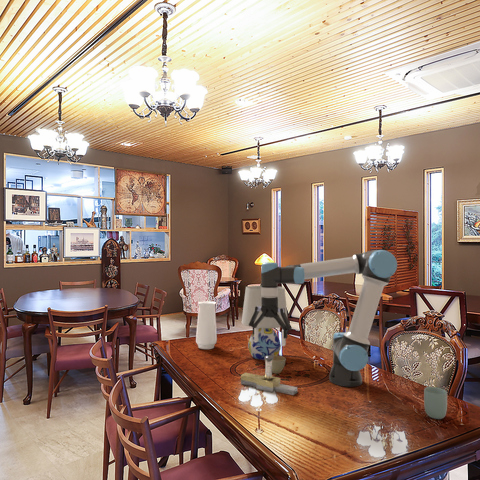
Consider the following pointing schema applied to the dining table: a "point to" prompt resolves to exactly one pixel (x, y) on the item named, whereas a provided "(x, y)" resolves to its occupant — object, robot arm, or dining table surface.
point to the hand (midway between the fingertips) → (269, 343)
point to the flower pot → (278, 364)
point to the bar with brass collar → (267, 384)
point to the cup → (435, 402)
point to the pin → (268, 367)
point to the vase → (206, 325)
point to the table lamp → (262, 323)
